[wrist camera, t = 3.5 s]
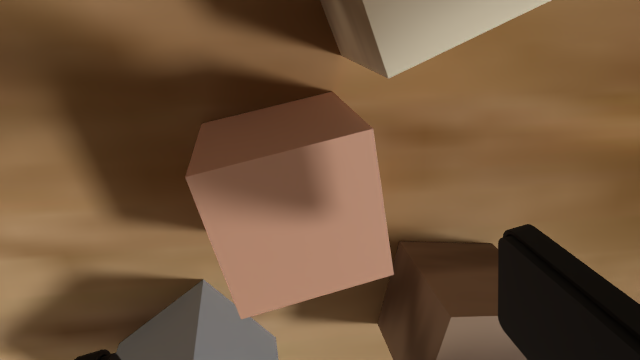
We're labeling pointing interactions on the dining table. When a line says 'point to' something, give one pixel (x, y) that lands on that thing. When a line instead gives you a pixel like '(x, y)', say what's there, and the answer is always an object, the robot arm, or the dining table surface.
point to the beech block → (412, 28)
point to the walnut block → (445, 304)
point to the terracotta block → (291, 202)
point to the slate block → (199, 332)
